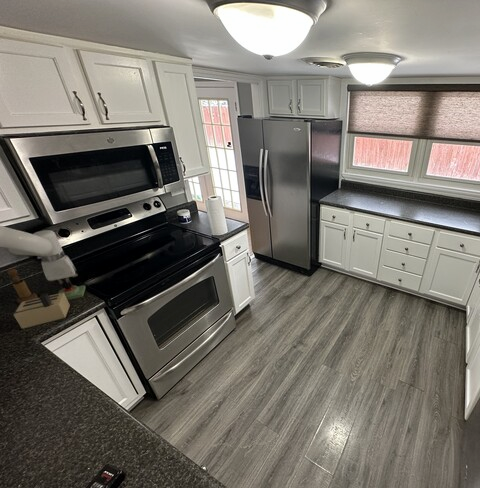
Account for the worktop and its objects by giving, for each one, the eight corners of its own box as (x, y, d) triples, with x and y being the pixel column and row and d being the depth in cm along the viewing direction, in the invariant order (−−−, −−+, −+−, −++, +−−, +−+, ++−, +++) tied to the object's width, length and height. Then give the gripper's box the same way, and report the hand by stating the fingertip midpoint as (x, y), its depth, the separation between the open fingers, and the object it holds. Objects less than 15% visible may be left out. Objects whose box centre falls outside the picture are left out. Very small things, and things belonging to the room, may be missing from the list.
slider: (44, 307, 113) (39, 298, 111) (46, 303, 115) (41, 294, 113) (49, 306, 114) (45, 296, 112) (51, 302, 116) (47, 293, 114)
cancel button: (64, 294, 130) (62, 291, 129) (65, 290, 133) (64, 287, 132) (73, 292, 132) (72, 289, 131) (75, 288, 135) (73, 285, 134)
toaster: (22, 329, 112) (13, 314, 109) (29, 315, 120) (21, 301, 116) (65, 318, 119) (58, 304, 115) (70, 306, 126) (63, 292, 123)
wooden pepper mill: (20, 306, 125) (1, 274, 117) (17, 301, 128) (-2, 270, 120) (39, 299, 130) (23, 268, 122) (35, 295, 133) (19, 264, 125)
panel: (56, 303, 128) (53, 297, 126) (60, 294, 135) (57, 287, 133) (83, 297, 133) (80, 291, 131) (86, 288, 139) (83, 282, 138)
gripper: (28, 263, 117) (46, 296, 125) (72, 255, 125) (86, 287, 133) (34, 256, 123) (50, 288, 131) (75, 249, 130) (89, 280, 138)
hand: (68, 288), depth 132 cm, fingers closed
